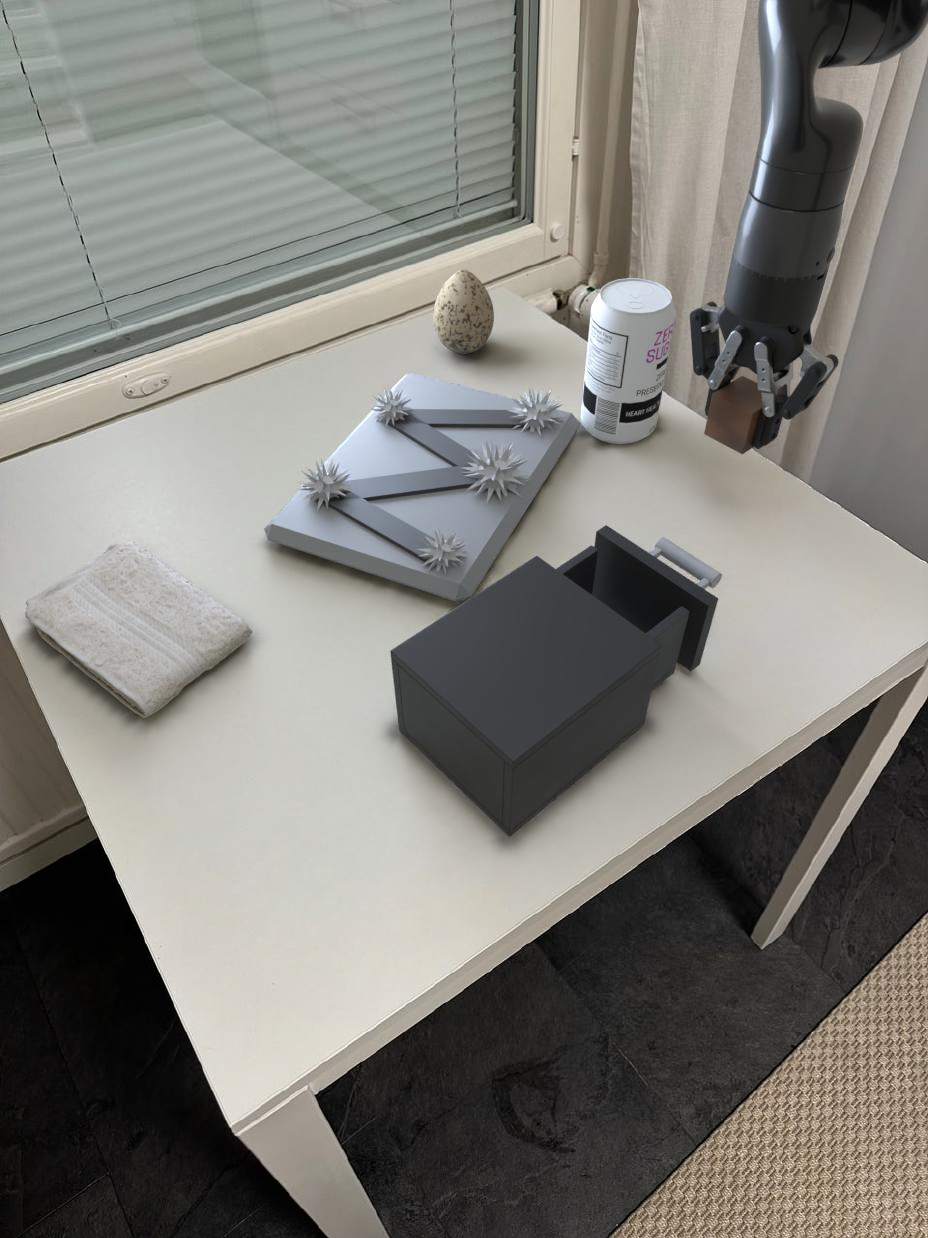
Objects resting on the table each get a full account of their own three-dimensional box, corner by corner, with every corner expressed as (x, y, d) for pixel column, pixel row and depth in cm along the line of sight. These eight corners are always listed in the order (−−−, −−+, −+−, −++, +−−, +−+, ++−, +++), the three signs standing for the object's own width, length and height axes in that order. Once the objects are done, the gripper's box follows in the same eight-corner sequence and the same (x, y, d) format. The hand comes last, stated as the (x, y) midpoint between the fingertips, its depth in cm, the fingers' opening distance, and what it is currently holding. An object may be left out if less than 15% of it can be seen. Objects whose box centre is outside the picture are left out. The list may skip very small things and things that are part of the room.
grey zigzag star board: (406, 385, 103) (402, 329, 98) (582, 430, 97) (588, 372, 91) (260, 546, 85) (246, 487, 79) (466, 614, 78) (465, 555, 73)
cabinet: (531, 636, 76) (536, 554, 69) (644, 725, 70) (662, 645, 63) (398, 730, 70) (389, 650, 63) (509, 837, 63) (513, 762, 56)
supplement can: (581, 401, 100) (594, 273, 89) (655, 406, 100) (677, 277, 89) (577, 444, 95) (591, 313, 84) (656, 450, 94) (679, 318, 83)
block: (771, 435, 83) (782, 394, 80) (742, 455, 81) (752, 413, 78) (732, 415, 85) (742, 375, 82) (703, 434, 83) (712, 393, 80)
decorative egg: (445, 331, 111) (442, 252, 104) (500, 339, 110) (501, 260, 102) (427, 361, 107) (423, 281, 99) (484, 369, 105) (484, 289, 98)
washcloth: (130, 552, 84) (120, 527, 82) (261, 638, 77) (254, 614, 74) (19, 626, 78) (5, 601, 76) (150, 728, 70) (139, 704, 68)
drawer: (633, 565, 81) (645, 498, 75) (736, 634, 75) (757, 567, 69) (484, 670, 73) (484, 604, 67) (586, 757, 67) (597, 693, 61)
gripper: (680, 237, 72) (652, 416, 85) (834, 299, 65) (779, 485, 77) (737, 211, 76) (702, 386, 88) (890, 266, 68) (828, 450, 81)
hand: (738, 431), depth 83 cm, fingers closed on block, 4 cm apart
